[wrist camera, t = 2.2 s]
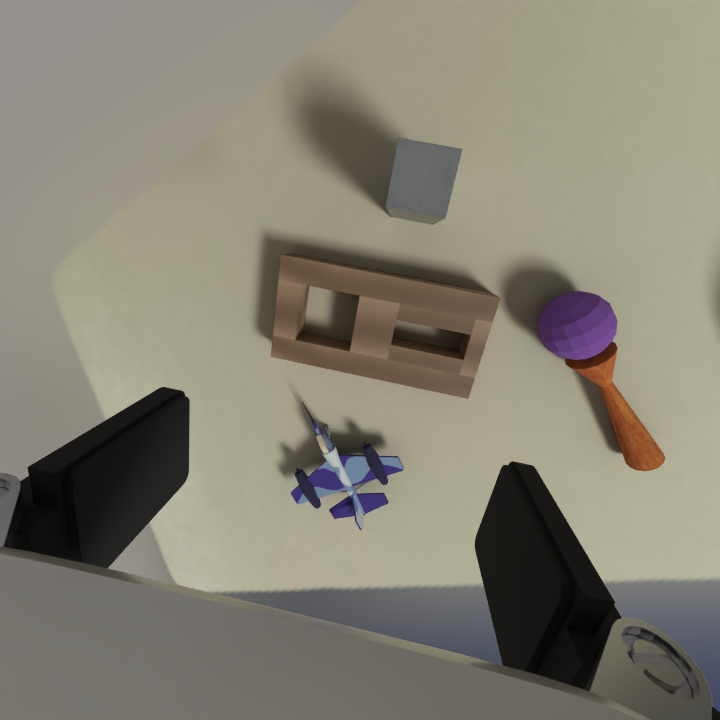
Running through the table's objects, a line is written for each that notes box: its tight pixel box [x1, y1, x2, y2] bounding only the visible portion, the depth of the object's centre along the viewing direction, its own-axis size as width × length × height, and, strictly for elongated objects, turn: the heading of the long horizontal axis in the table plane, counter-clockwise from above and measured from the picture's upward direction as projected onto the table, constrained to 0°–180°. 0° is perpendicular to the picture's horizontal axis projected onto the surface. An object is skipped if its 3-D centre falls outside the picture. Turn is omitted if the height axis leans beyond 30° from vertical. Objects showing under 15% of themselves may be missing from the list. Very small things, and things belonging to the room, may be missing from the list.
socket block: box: [271, 254, 500, 399], centre depth 34 cm, size 10×20×3 cm, turn 80°
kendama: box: [538, 291, 665, 471], centre depth 33 cm, size 6×6×20 cm
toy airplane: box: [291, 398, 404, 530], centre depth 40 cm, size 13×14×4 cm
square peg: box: [386, 138, 462, 225], centre depth 27 cm, size 4×4×10 cm
